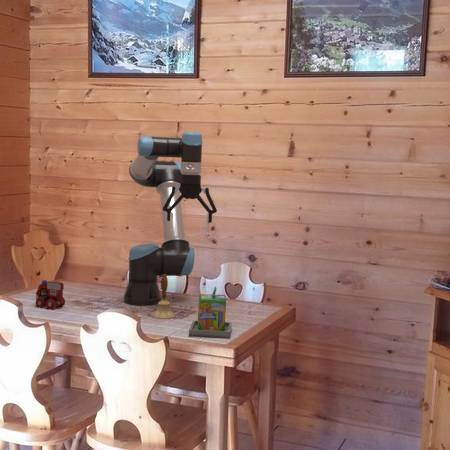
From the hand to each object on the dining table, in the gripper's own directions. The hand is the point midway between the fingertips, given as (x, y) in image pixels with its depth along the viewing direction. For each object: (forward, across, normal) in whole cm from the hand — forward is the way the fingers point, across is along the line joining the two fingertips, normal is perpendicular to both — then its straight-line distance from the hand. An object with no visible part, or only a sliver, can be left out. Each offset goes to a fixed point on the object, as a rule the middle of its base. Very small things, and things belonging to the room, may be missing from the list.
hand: (189, 230), depth 257 cm
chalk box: (+31, +11, -26) cm, 42 cm away
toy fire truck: (+32, -53, +1) cm, 62 cm away
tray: (+32, +11, -26) cm, 42 cm away
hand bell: (+32, -8, -6) cm, 34 cm away
